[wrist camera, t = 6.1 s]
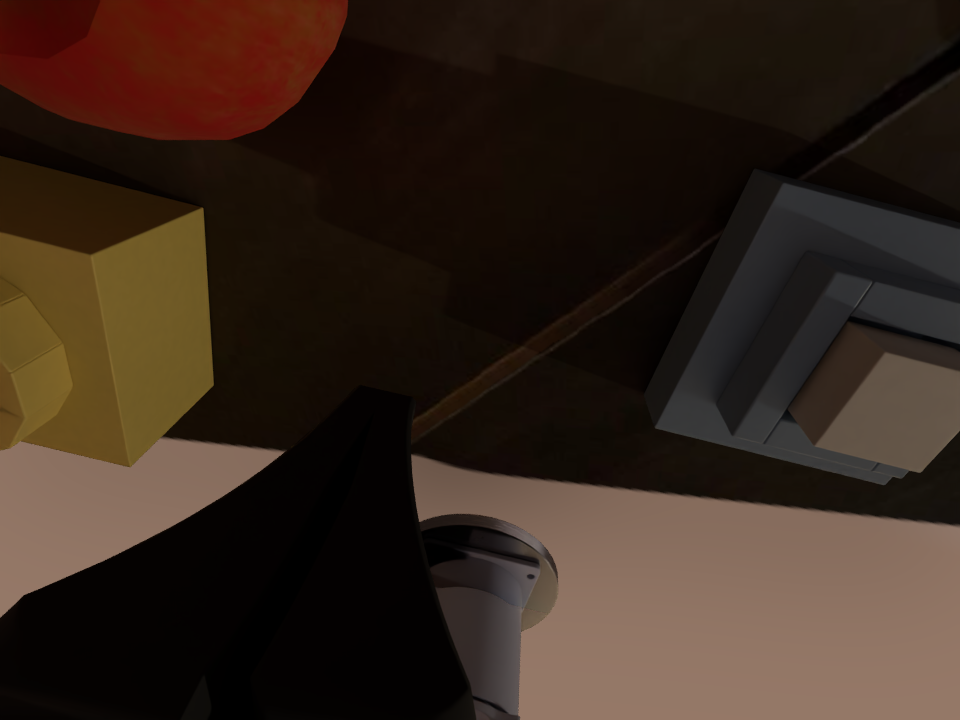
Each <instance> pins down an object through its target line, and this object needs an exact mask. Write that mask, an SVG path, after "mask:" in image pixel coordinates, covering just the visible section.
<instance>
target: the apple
mask: <svg viewBox="0 0 960 720" xmlns="http://www.w3.org/2000/svg"><path fill="white" fill-rule="evenodd" d="M347 8H348V0H0V84H1V85H2V86H4V87H6V88H8V89H10V90H11V91H13V92H15V93H17V94H19V95H20V96H22V97H24V98H26V99H27V100H29V101H31V102H33V103H35V104H36V105H38V106H40V107H42V108H43V109H46V110H48V111H51V112H53V113H55V114H58V115H60V116H63V117H65V118H67V119H70V120H74V121H78V122H82V123H86V124H90V125H94V126H98V127H102V128H106V129H110V130H114V131H119V132H123V133H128V134H133V135H138V136H143V137H148V138H153V139H158V140H230V139H233V138H236V137H239V136H242V135H245V134H248V133H251V132H254V131H257V130H260V129H263V128H265V127H266V126H268V125H269V124H270V123H271V122H273V121H274V120H275V119H277V118H278V117H279V116H281V115H282V114H283V113H285V112H286V111H287V110H288V109H290V108H291V107H292V106H294V105H295V104H296V103H298V102H299V100H300V99H301V97H302V96H303V94H304V93H305V92H306V90H307V89H308V87H309V86H310V84H311V83H312V81H313V80H314V79H315V77H316V76H317V74H318V73H319V71H320V70H321V68H322V67H323V65H324V64H325V63H326V61H327V60H328V58H329V57H330V55H331V54H332V52H333V51H334V49H335V47H336V44H337V42H338V39H339V36H340V33H341V31H342V28H343V25H344V23H345V20H346V17H347Z"/></svg>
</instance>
